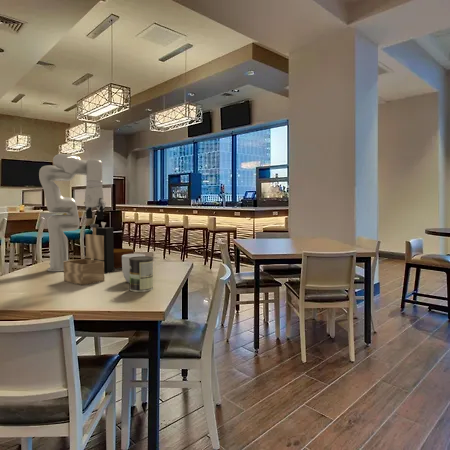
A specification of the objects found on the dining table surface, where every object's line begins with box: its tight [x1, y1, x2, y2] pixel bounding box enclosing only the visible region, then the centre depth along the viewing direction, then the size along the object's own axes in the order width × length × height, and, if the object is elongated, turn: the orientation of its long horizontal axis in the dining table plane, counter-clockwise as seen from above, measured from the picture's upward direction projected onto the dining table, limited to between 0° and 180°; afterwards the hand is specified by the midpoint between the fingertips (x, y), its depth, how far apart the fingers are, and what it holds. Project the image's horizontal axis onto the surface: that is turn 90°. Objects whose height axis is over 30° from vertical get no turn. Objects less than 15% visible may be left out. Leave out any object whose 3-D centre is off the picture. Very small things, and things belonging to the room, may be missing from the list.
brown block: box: [114, 248, 135, 269], centre depth 215 cm, size 18×18×10 cm
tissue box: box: [93, 221, 115, 274], centre depth 199 cm, size 8×8×28 cm
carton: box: [63, 258, 105, 286], centre depth 176 cm, size 16×12×10 cm
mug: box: [121, 253, 146, 284], centre depth 175 cm, size 15×11×13 cm
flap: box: [85, 223, 104, 260], centre depth 180 cm, size 15×18×2 cm
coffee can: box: [129, 255, 154, 293], centre depth 158 cm, size 10×10×14 cm
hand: (94, 218), depth 180 cm, fingers open, 9 cm apart
